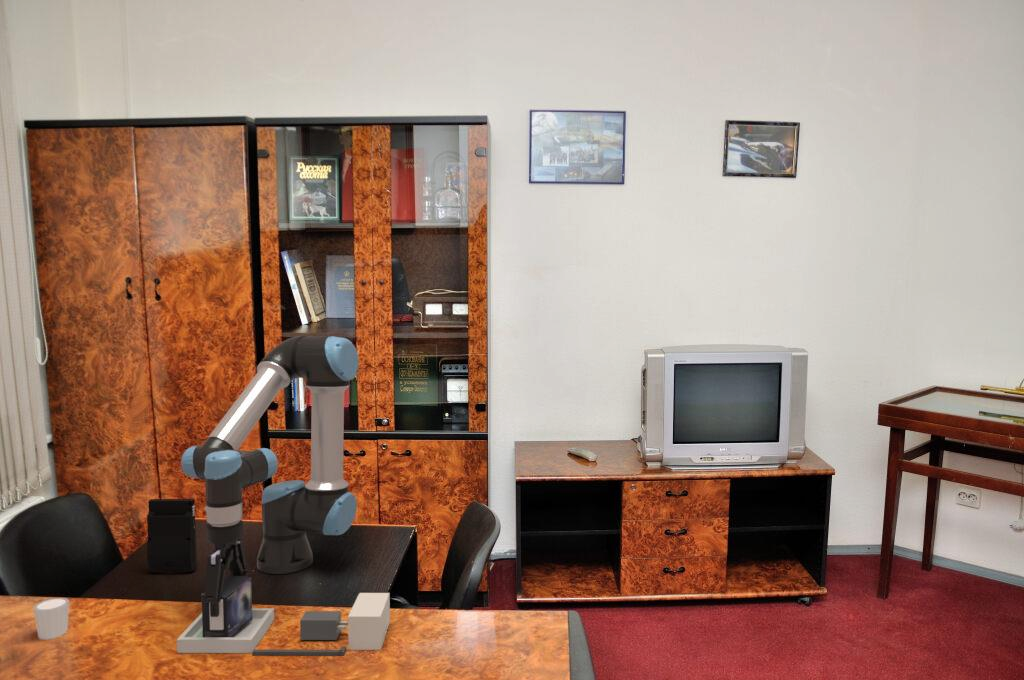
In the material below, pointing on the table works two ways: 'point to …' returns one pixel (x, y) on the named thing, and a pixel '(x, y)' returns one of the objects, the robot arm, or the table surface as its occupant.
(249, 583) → the small box
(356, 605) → the socket
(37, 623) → the white cylinder
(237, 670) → the table surface
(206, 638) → the dock
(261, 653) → the grey thin bar
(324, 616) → the plug
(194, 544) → the black upright device
